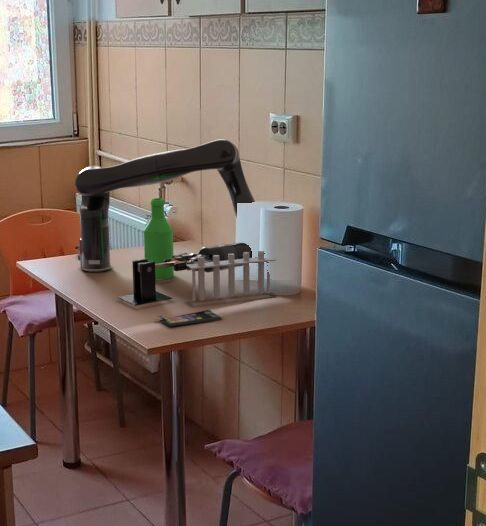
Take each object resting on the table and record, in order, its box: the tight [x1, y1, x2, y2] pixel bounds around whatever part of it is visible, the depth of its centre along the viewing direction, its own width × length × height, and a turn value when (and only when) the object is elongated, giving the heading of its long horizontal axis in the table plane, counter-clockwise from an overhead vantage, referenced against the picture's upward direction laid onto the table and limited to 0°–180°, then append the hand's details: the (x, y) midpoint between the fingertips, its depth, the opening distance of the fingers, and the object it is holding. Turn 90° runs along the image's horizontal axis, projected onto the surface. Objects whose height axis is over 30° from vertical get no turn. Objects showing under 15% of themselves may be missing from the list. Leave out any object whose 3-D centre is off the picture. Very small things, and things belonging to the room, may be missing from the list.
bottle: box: [143, 197, 175, 281], centre depth 281 cm, size 9×9×25 cm
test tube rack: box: [186, 251, 277, 302], centre depth 258 cm, size 25×4×13 cm, turn 104°
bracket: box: [117, 257, 173, 307], centre depth 260 cm, size 12×10×12 cm
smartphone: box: [157, 309, 222, 327], centre depth 243 cm, size 8×15×1 cm, turn 113°
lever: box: [138, 259, 180, 272], centre depth 261 cm, size 13×5×2 cm, turn 119°
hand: (169, 265), depth 263 cm, fingers closed on lever, 5 cm apart
